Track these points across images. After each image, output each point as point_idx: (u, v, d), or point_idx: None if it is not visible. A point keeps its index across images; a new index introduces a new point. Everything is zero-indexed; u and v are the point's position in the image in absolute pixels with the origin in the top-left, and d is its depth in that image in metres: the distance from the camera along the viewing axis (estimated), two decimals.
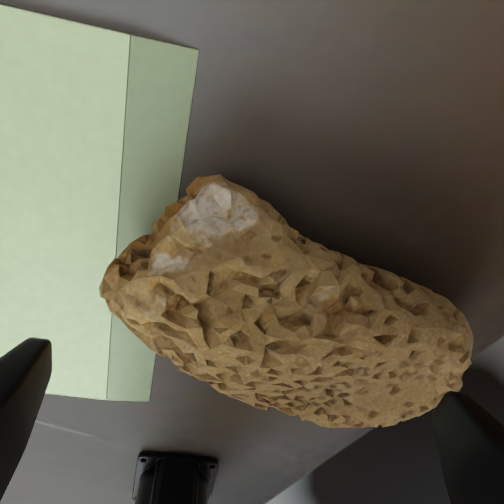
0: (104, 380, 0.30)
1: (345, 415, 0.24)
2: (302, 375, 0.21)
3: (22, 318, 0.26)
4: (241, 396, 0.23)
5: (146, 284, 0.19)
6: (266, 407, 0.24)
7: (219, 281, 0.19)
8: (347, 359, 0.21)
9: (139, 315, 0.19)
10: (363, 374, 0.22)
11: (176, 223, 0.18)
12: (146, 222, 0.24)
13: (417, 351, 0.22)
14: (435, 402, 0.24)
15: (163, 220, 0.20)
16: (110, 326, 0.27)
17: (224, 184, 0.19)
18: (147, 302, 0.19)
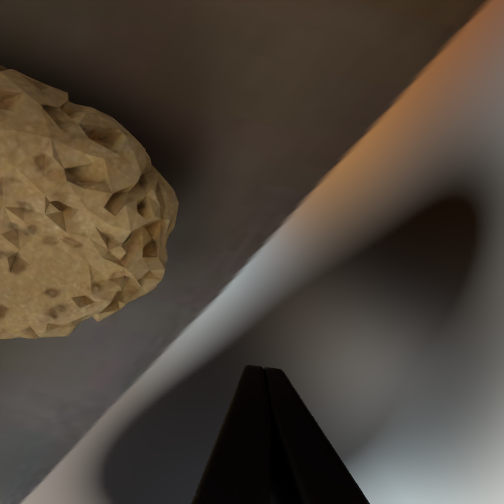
0: None
1: None
2: None
3: None
4: None
5: None
6: None
7: None
8: None
9: None
10: None
11: None
12: None
13: (1, 179, 0.12)
14: (100, 291, 0.15)
15: None
16: None
17: None
18: None
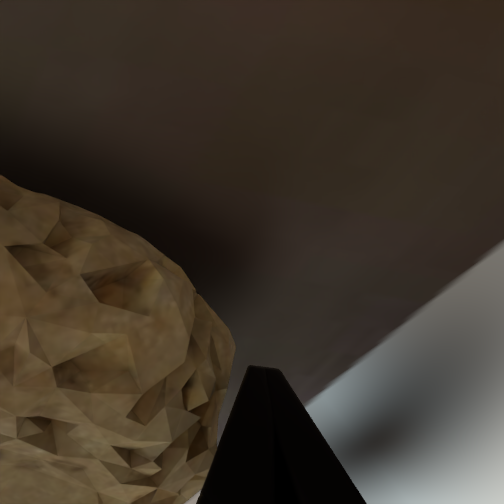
0: None
1: None
2: None
3: None
4: None
5: None
6: None
7: None
8: None
9: None
10: None
11: None
12: None
13: None
14: None
15: None
16: None
17: None
18: None
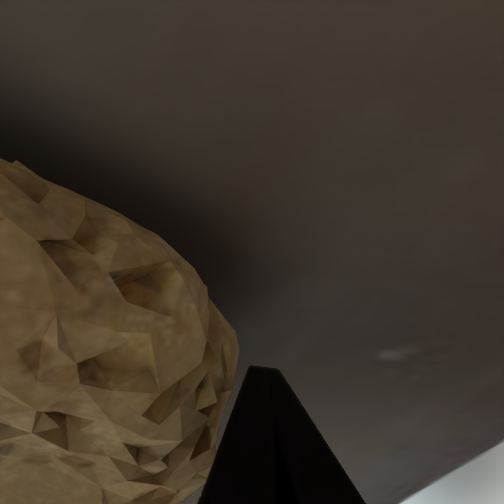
0: None
1: None
2: None
3: None
4: None
5: None
6: None
7: None
8: None
9: None
10: None
11: None
12: None
13: None
14: None
15: None
16: None
17: None
18: None
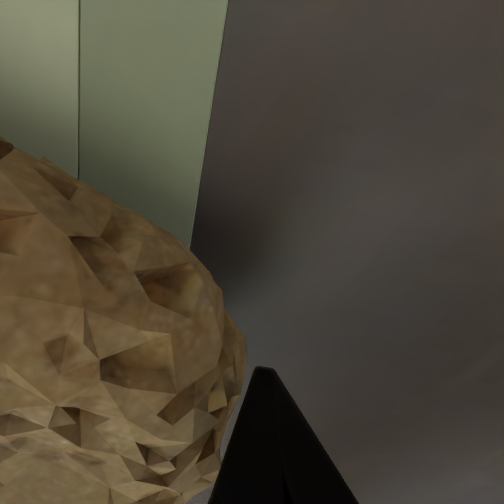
0: None
1: None
2: None
3: None
4: None
5: None
6: None
7: None
8: None
9: None
10: None
11: None
12: (139, 189, 0.11)
13: None
14: None
15: None
16: None
17: None
18: None
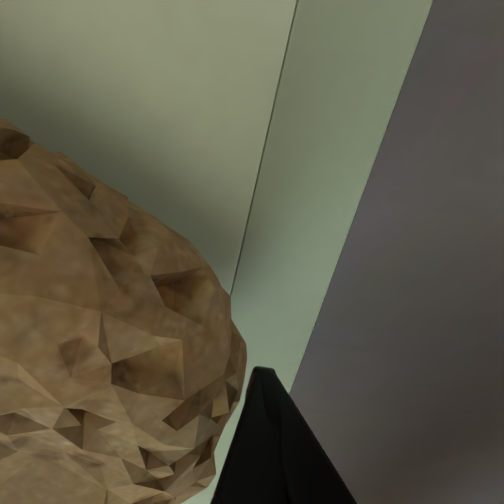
0: None
1: None
2: None
3: None
4: None
5: None
6: None
7: None
8: None
9: None
10: None
11: None
12: (306, 205, 0.12)
13: None
14: None
15: None
16: None
17: None
18: None
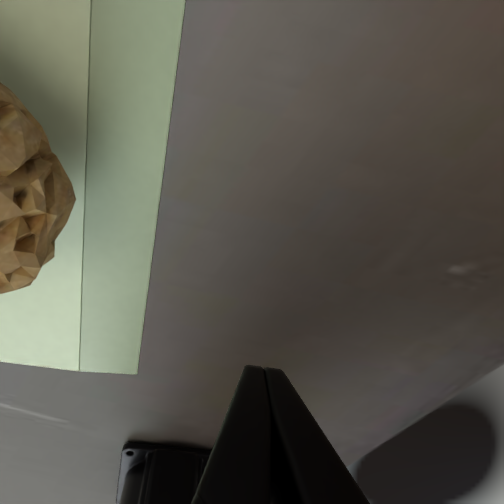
0: (75, 343, 0.22)
1: None
2: None
3: None
4: None
5: None
6: None
7: None
8: None
9: None
10: None
11: None
12: (131, 93, 0.16)
13: None
14: None
15: None
16: (81, 262, 0.19)
17: None
18: None
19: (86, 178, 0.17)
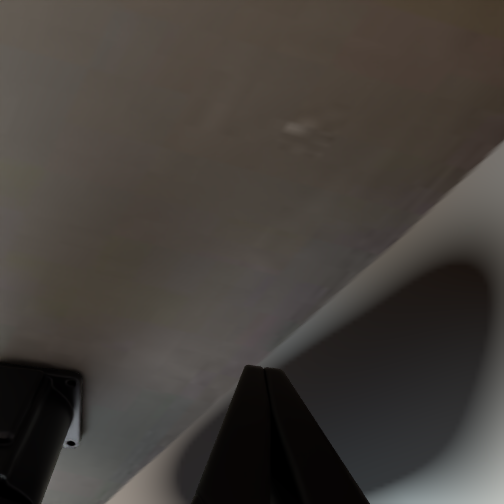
0: None
1: None
2: None
3: None
4: None
5: None
6: None
7: None
8: None
9: None
10: None
11: None
12: None
13: None
14: None
15: None
16: None
17: None
18: None
19: None
